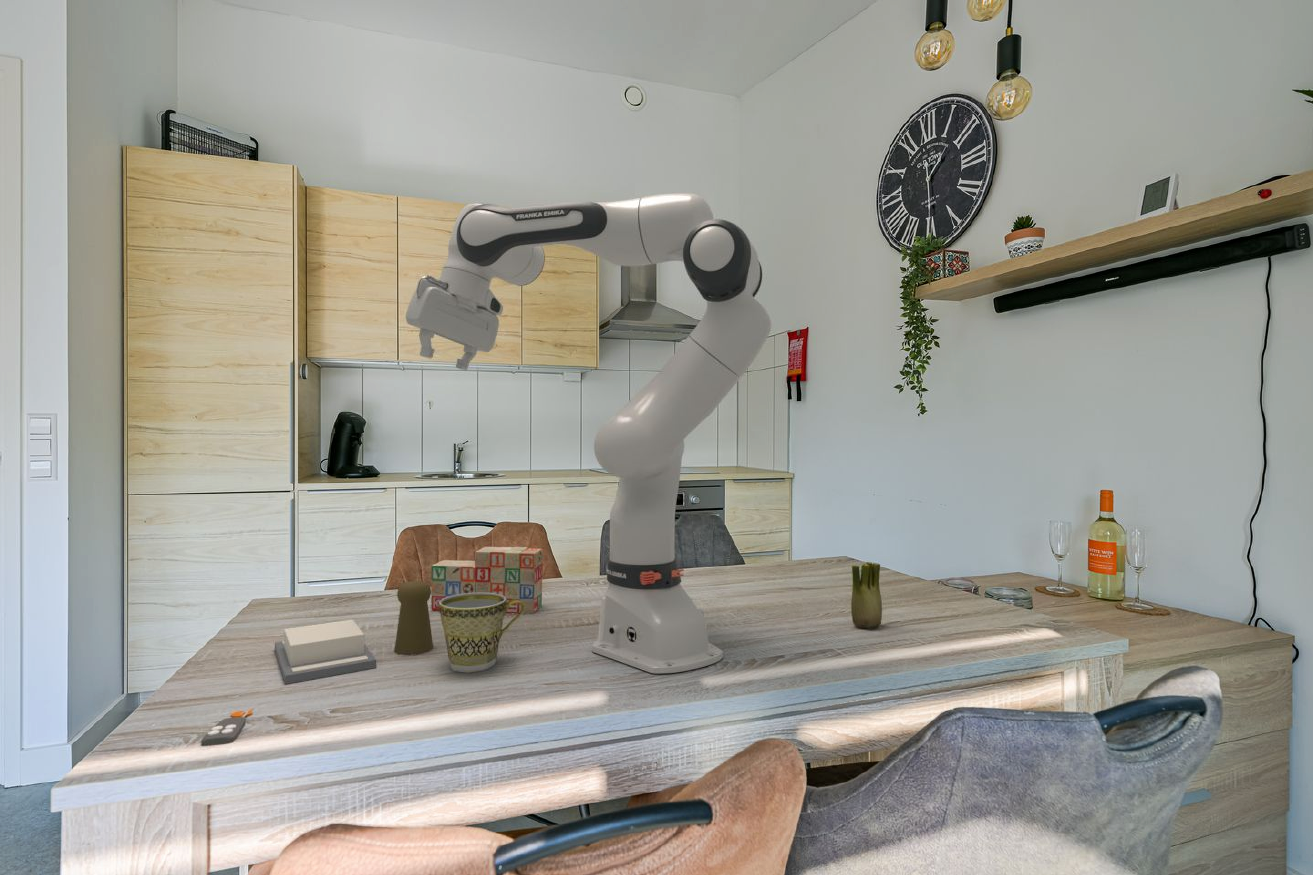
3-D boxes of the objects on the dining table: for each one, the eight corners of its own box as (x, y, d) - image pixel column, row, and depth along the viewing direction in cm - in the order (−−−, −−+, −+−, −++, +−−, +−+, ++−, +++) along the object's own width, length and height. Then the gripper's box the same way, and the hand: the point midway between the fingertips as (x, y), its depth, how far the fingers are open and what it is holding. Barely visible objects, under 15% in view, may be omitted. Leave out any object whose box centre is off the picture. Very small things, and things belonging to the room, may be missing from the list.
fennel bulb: (851, 629, 120) (852, 564, 120) (848, 622, 124) (848, 559, 124) (885, 631, 119) (885, 565, 119) (880, 624, 123) (880, 560, 123)
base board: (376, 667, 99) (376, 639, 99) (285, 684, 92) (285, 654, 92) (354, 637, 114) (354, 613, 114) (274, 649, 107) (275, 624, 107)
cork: (400, 643, 110) (401, 578, 110) (437, 642, 111) (437, 577, 111) (389, 655, 104) (389, 586, 104) (427, 654, 105) (428, 585, 105)
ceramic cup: (444, 681, 93) (445, 611, 93) (433, 660, 102) (433, 596, 102) (533, 667, 99) (533, 601, 99) (515, 648, 108) (515, 587, 108)
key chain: (236, 746, 75) (236, 733, 75) (198, 750, 74) (198, 737, 74) (269, 702, 87) (269, 690, 87) (237, 705, 86) (237, 694, 86)
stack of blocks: (430, 611, 131) (430, 550, 131) (443, 603, 137) (443, 545, 137) (534, 614, 129) (534, 552, 129) (542, 606, 135) (543, 547, 136)
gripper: (435, 273, 111) (415, 351, 111) (508, 310, 129) (491, 377, 129) (408, 269, 114) (388, 346, 113) (484, 306, 132) (467, 372, 132)
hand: (444, 363), depth 121 cm, fingers open, 8 cm apart
